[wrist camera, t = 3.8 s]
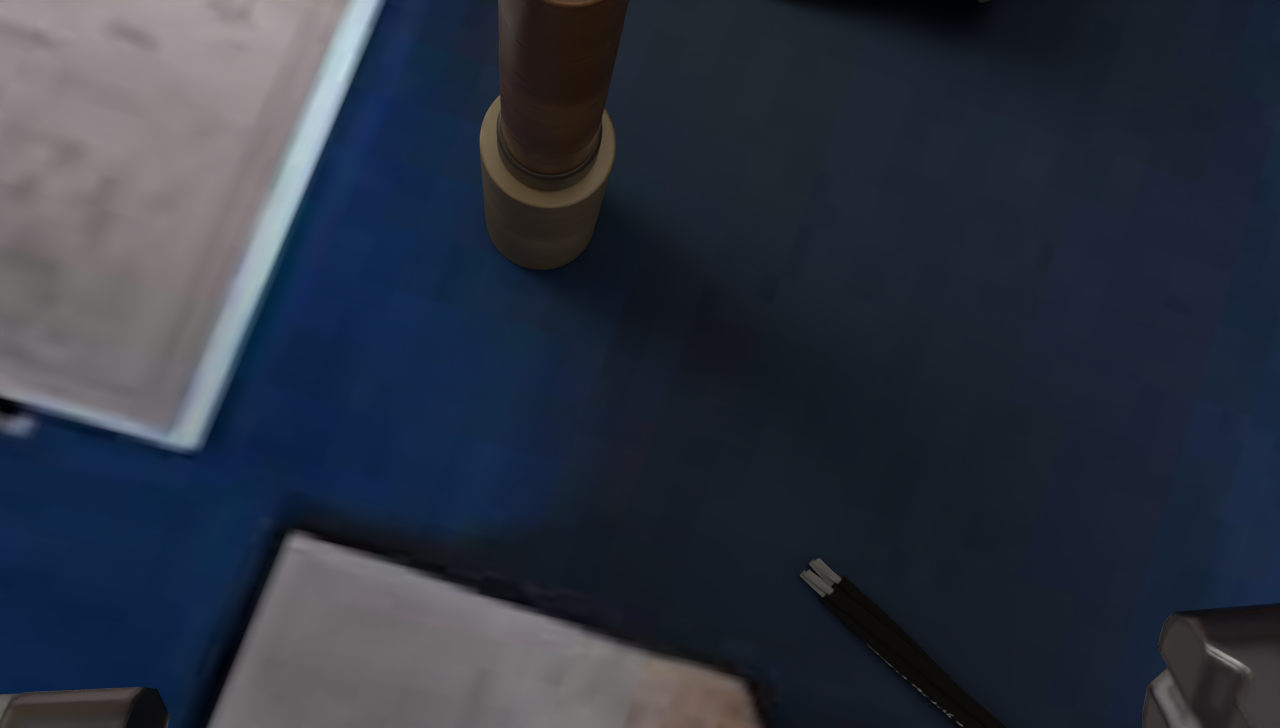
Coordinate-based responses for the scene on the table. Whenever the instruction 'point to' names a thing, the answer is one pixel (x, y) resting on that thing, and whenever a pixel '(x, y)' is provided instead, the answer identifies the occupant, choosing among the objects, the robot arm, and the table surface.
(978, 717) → the electrical cable
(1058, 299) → the table surface
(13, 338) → the table surface
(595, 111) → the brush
